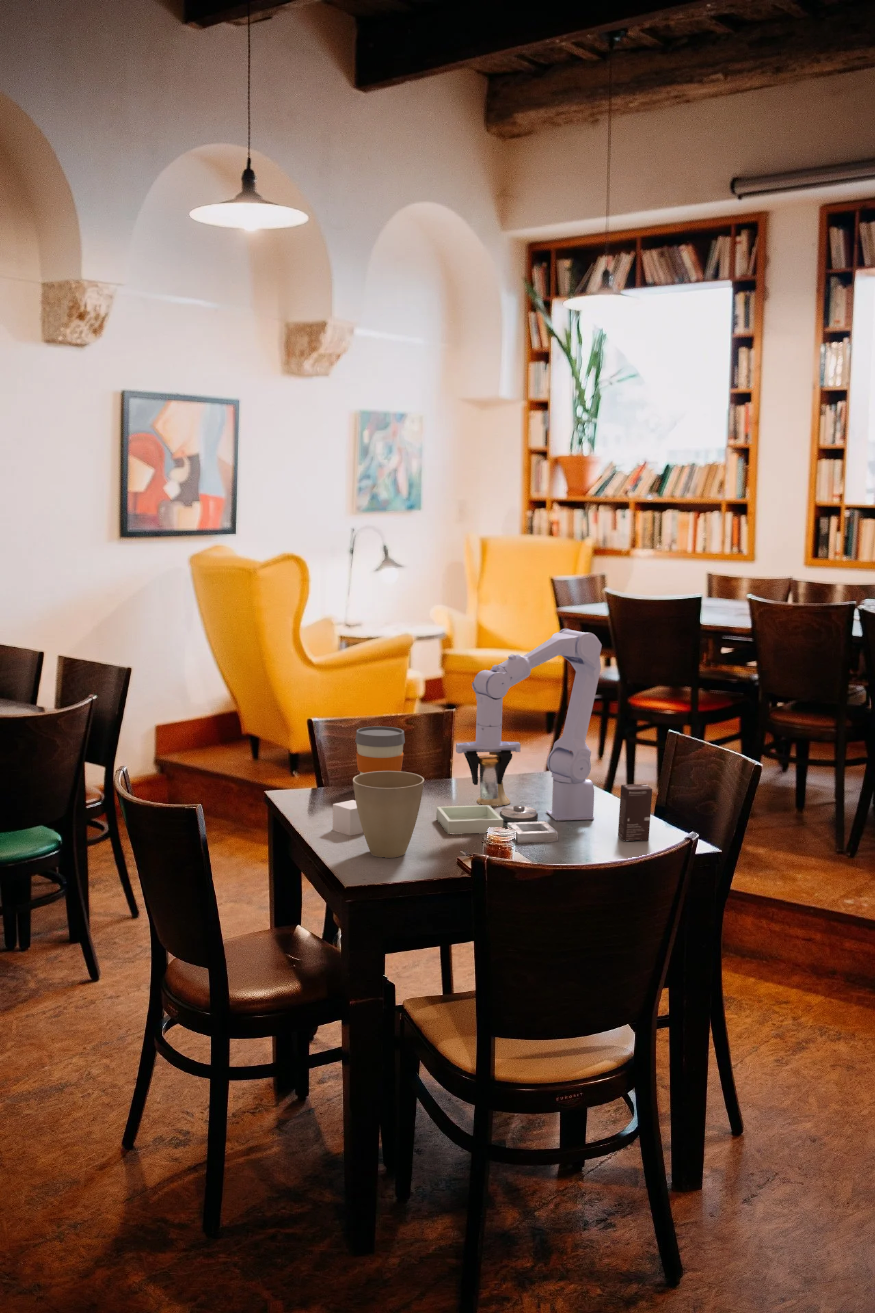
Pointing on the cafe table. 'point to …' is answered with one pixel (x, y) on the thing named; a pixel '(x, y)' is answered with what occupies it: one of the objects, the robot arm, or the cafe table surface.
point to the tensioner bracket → (527, 825)
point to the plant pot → (388, 809)
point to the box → (634, 812)
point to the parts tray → (468, 818)
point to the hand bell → (501, 798)
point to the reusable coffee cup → (379, 749)
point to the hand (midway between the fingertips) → (487, 783)
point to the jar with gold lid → (488, 776)
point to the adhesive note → (346, 818)
